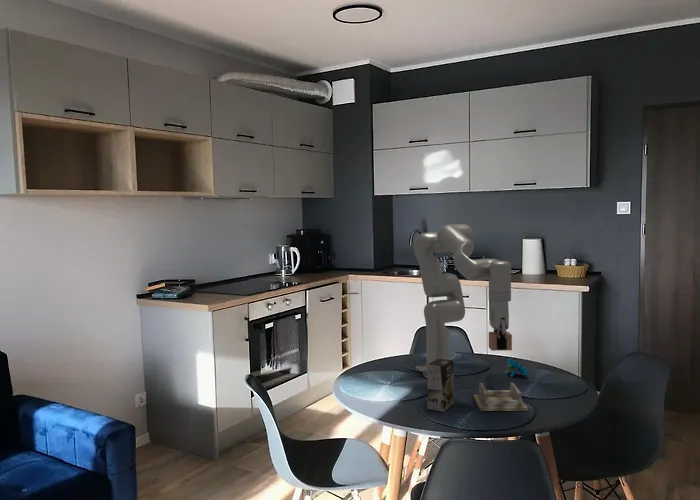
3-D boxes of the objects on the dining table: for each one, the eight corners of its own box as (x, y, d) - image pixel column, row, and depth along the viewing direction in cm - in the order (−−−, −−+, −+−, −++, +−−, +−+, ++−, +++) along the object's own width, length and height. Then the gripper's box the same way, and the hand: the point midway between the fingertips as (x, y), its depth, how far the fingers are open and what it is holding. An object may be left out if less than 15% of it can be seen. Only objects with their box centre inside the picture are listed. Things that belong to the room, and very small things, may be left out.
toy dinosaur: (534, 374, 230) (517, 358, 229) (526, 386, 229) (509, 370, 227) (519, 371, 241) (503, 355, 239) (511, 382, 239) (495, 366, 238)
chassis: (480, 411, 195) (480, 394, 195) (473, 397, 209) (473, 381, 209) (527, 411, 194) (527, 394, 194) (517, 397, 208) (517, 381, 208)
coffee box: (444, 412, 195) (444, 366, 194) (427, 409, 199) (426, 363, 197) (454, 404, 203) (454, 359, 202) (437, 401, 206) (437, 357, 205)
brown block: (491, 350, 198) (491, 335, 197) (488, 347, 203) (488, 331, 202) (511, 350, 197) (511, 334, 197) (508, 346, 202) (508, 331, 202)
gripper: (484, 292, 207) (484, 341, 209) (494, 300, 190) (494, 353, 192) (505, 292, 207) (505, 341, 208) (516, 300, 190) (516, 353, 191)
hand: (499, 346), depth 200 cm, fingers closed on brown block, 5 cm apart
